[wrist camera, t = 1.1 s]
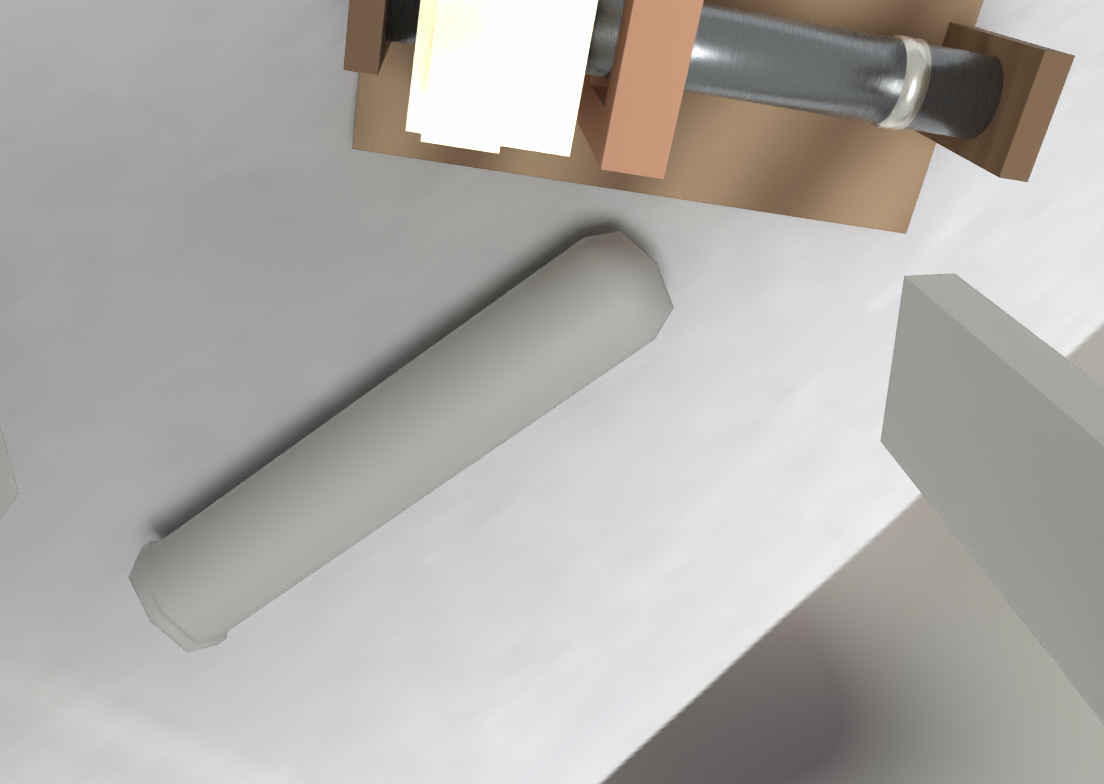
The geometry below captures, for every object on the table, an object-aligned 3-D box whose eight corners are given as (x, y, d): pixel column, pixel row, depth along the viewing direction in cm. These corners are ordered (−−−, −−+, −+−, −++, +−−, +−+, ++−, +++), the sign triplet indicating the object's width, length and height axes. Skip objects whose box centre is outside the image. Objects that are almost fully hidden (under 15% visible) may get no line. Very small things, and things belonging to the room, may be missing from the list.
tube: (614, 206, 38) (109, 569, 42) (697, 327, 38) (189, 672, 43) (619, 204, 43) (169, 528, 48) (693, 311, 43) (240, 620, 48)
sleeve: (414, 89, 37) (397, 173, 27) (438, -120, 34) (430, -118, 24) (551, 112, 38) (587, 201, 28) (586, -91, 35) (641, -78, 25)
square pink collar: (576, 120, 38) (600, 169, 32) (615, -92, 35) (650, -85, 29) (629, 129, 39) (663, 179, 32) (672, -81, 36) (719, -72, 29)
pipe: (373, 34, 35) (366, 47, 32) (383, -63, 33) (376, -58, 31) (959, 133, 38) (997, 153, 35) (988, 48, 36) (1030, 62, 34)
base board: (355, 142, 40) (332, 201, 32) (388, -218, 34) (370, -243, 27) (896, 226, 43) (984, 296, 36) (1000, -92, 38) (1127, -85, 31)
